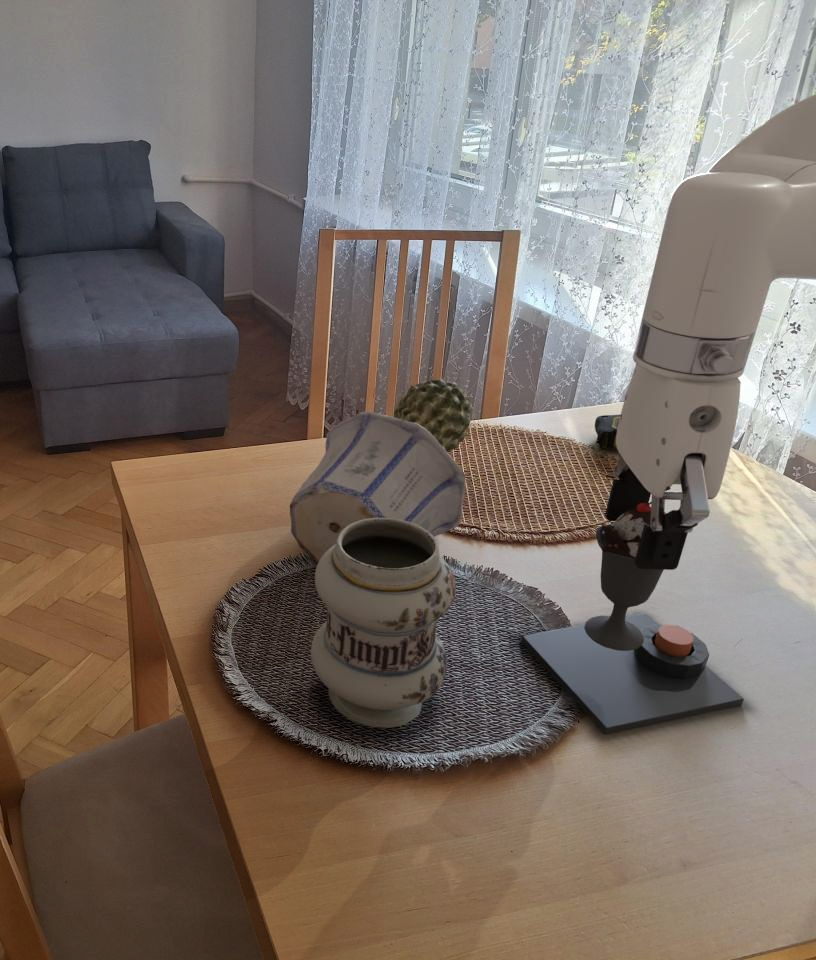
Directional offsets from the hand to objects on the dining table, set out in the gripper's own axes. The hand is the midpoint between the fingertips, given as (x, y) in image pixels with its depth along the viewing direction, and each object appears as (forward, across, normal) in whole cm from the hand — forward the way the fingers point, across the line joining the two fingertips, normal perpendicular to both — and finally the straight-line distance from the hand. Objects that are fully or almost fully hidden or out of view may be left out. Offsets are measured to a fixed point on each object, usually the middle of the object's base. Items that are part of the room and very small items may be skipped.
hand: (639, 541), depth 74 cm
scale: (+16, +1, -2) cm, 16 cm away
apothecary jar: (+16, -4, +22) cm, 27 cm away
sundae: (+10, 0, 0) cm, 10 cm away
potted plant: (+16, +26, +17) cm, 35 cm away
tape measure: (+16, +51, -17) cm, 56 cm away
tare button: (+13, +2, -7) cm, 15 cm away
